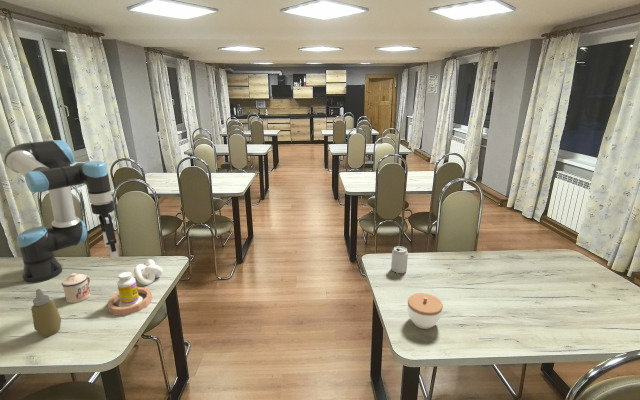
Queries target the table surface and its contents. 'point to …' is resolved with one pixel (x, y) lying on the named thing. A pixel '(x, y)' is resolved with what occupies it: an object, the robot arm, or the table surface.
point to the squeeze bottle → (45, 315)
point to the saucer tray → (121, 309)
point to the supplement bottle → (127, 289)
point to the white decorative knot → (147, 272)
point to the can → (399, 259)
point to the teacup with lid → (76, 287)
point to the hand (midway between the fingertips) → (112, 251)
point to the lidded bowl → (424, 310)
